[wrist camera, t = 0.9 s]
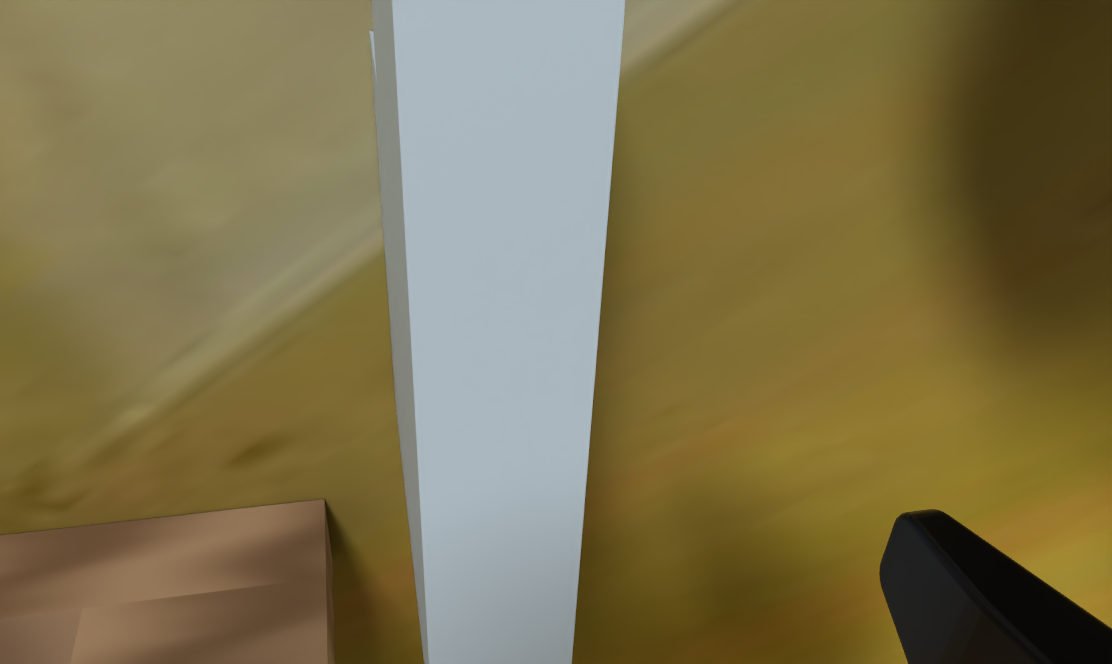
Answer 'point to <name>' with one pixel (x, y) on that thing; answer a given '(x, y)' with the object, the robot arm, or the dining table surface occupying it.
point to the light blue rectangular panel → (495, 302)
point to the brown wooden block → (172, 590)
